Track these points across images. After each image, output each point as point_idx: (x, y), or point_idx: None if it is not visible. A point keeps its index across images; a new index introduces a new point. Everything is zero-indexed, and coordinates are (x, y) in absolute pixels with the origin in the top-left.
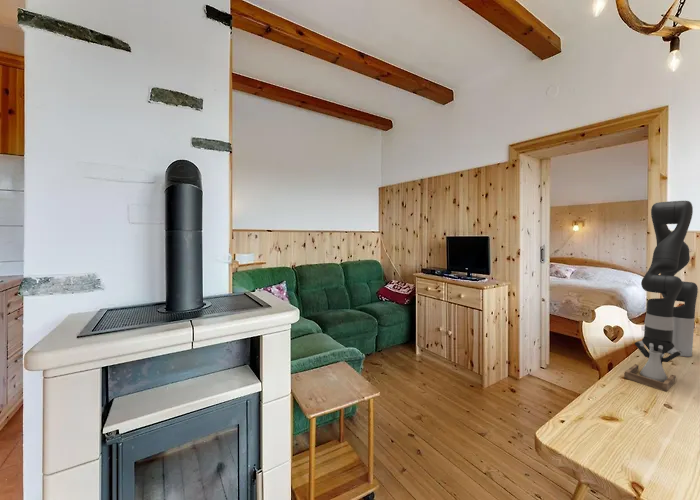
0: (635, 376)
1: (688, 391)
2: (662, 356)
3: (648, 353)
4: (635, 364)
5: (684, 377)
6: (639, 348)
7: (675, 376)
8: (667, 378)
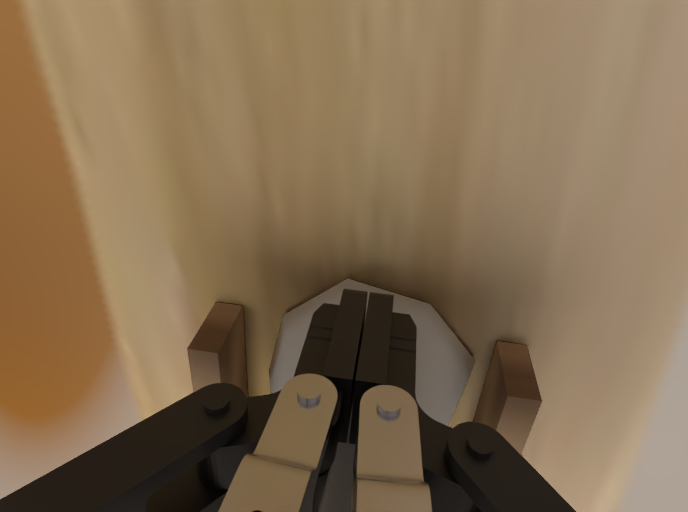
0: None
1: (597, 459)
2: (410, 479)
3: (220, 456)
4: (192, 354)
5: (650, 93)
6: None
7: (537, 400)
8: (469, 374)
